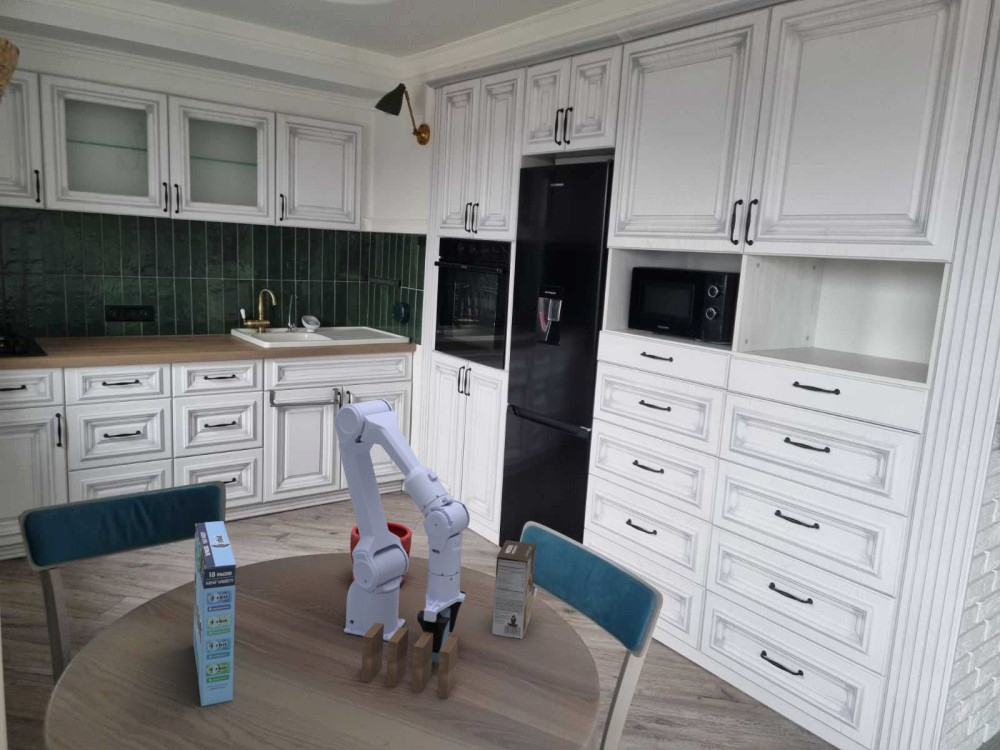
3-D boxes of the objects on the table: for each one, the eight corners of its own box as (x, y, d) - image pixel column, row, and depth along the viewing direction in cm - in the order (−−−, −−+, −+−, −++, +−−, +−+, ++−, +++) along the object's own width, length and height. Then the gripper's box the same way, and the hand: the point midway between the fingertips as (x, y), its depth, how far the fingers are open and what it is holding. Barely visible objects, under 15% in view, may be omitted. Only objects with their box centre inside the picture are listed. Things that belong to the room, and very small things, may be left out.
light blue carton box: (193, 645, 128) (193, 522, 125) (223, 640, 130) (224, 519, 127) (200, 708, 111) (200, 567, 107) (235, 701, 113) (237, 563, 110)
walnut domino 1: (361, 680, 121) (363, 636, 119) (373, 665, 125) (375, 622, 124) (370, 682, 120) (372, 637, 119) (382, 666, 125) (383, 623, 124)
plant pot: (405, 596, 152) (408, 542, 150) (343, 593, 151) (345, 539, 150) (412, 570, 165) (414, 520, 163) (354, 567, 164) (356, 517, 163)
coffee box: (500, 613, 147) (505, 538, 145) (531, 618, 146) (536, 543, 144) (491, 635, 138) (496, 555, 136) (523, 640, 137) (529, 560, 135)
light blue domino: (430, 661, 128) (433, 619, 127) (439, 647, 133) (442, 606, 131) (439, 663, 127) (441, 621, 126) (448, 649, 132) (450, 608, 131)
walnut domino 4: (437, 696, 118) (440, 650, 116) (447, 679, 122) (449, 636, 121) (446, 698, 117) (449, 652, 116) (456, 681, 122) (458, 637, 121)
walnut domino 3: (411, 691, 119) (414, 645, 117) (422, 674, 123) (424, 631, 122) (420, 692, 118) (423, 647, 117) (430, 676, 123) (433, 633, 122)
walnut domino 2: (386, 685, 120) (388, 640, 118) (397, 669, 124) (399, 626, 123) (395, 687, 119) (397, 642, 118) (406, 671, 124) (408, 628, 123)
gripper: (453, 590, 120) (449, 665, 122) (476, 557, 134) (472, 625, 136) (413, 583, 121) (410, 658, 123) (440, 551, 135) (437, 619, 137)
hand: (440, 640), depth 130 cm, fingers open, 7 cm apart
